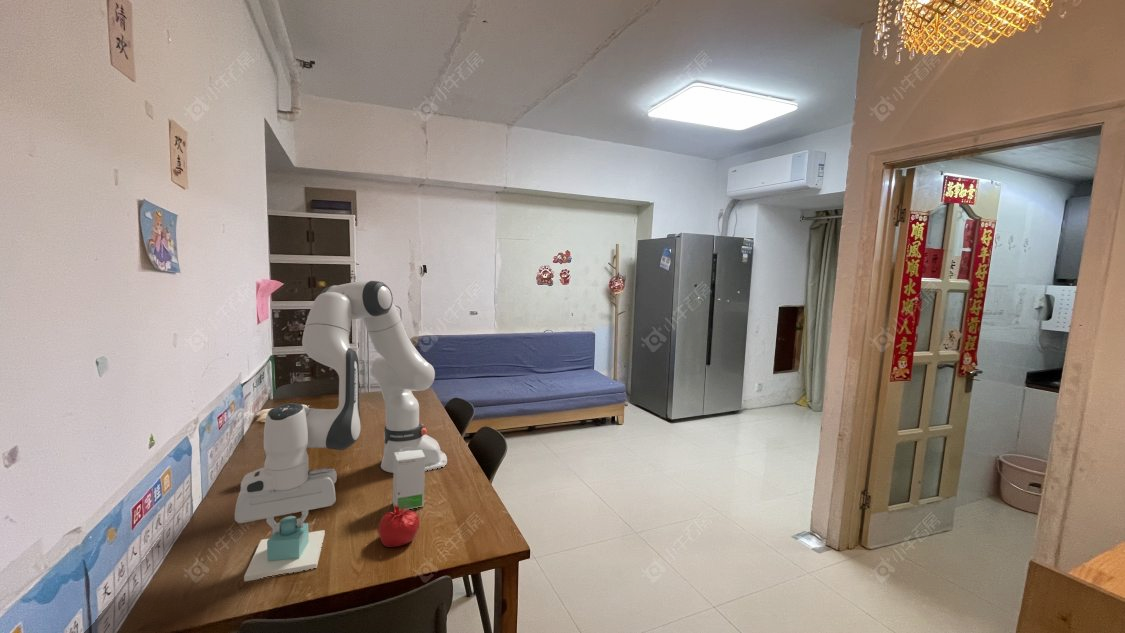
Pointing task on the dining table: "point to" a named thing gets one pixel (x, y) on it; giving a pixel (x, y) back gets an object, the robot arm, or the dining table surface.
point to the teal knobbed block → (287, 540)
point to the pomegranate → (398, 527)
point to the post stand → (268, 568)
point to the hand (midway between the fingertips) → (288, 529)
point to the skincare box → (409, 479)
